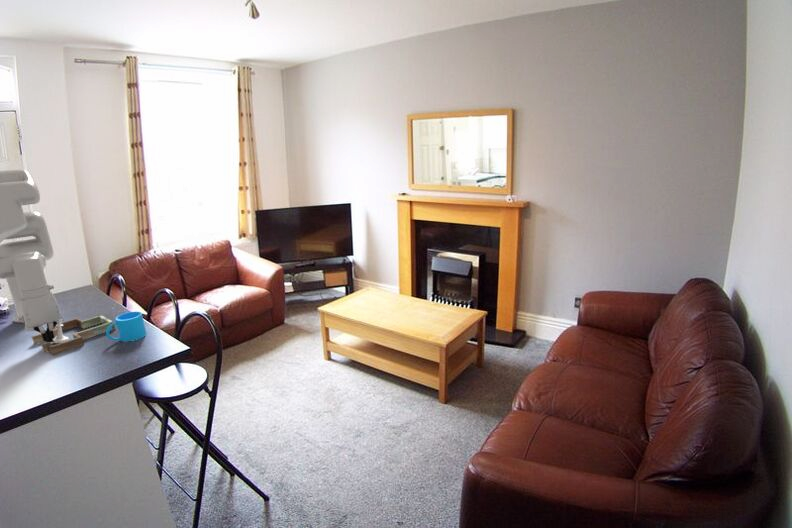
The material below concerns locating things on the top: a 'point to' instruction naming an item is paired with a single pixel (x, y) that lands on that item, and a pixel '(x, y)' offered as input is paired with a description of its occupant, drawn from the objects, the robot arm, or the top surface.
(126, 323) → the mug
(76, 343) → the box
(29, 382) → the top surface
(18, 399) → the top surface
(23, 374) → the top surface
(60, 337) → the chess piece
